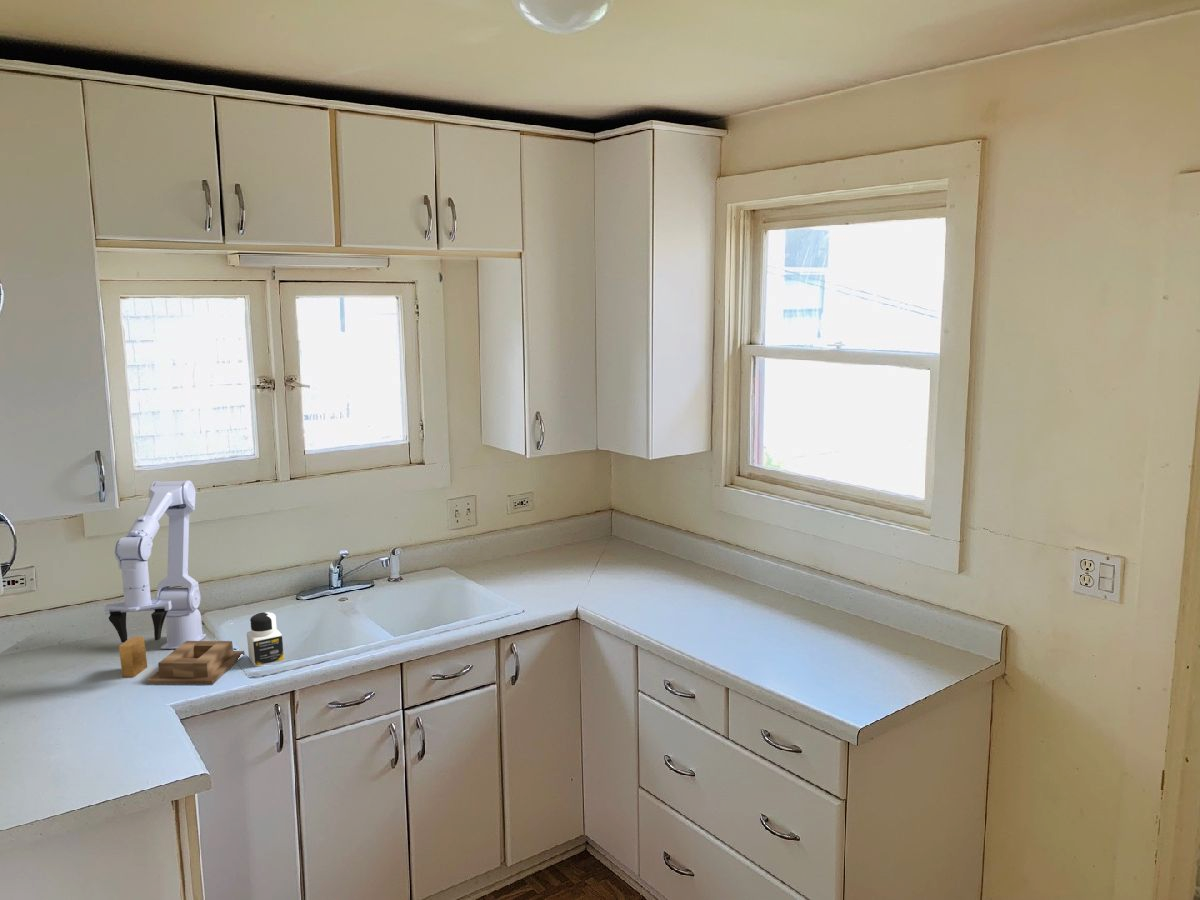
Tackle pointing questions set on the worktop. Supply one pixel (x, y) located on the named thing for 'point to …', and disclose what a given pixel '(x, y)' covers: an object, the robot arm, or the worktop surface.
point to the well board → (196, 663)
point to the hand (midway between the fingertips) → (141, 640)
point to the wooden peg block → (133, 656)
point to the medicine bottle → (264, 640)
